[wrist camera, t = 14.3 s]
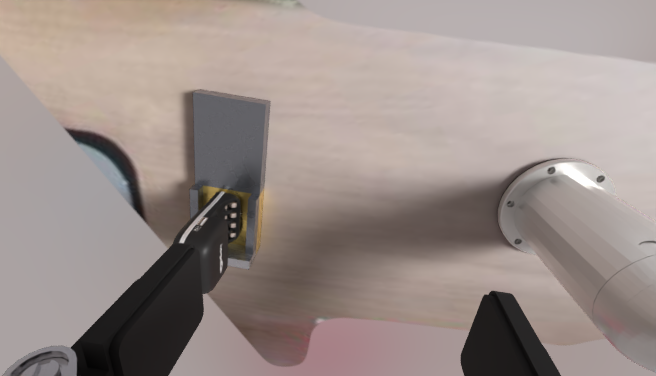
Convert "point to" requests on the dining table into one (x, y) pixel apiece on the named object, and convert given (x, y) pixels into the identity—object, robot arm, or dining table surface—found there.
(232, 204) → the battery charger
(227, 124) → the grey and yellow block
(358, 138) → the dining table surface
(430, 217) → the dining table surface
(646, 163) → the dining table surface
